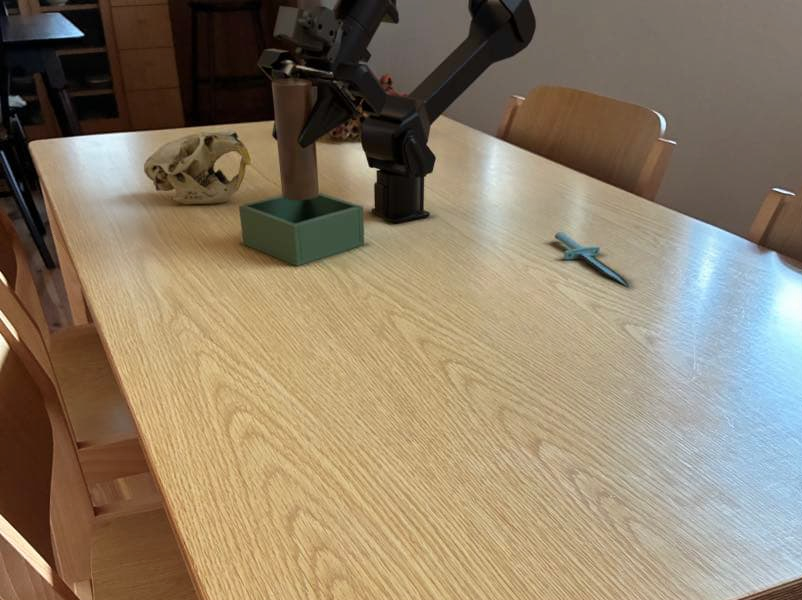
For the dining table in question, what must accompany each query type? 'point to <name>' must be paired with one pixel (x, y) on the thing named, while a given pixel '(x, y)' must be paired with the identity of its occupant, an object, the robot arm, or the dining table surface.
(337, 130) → the coral
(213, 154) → the skull
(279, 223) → the basket
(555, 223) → the dining table surface
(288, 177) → the brown cylinder
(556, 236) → the knife
